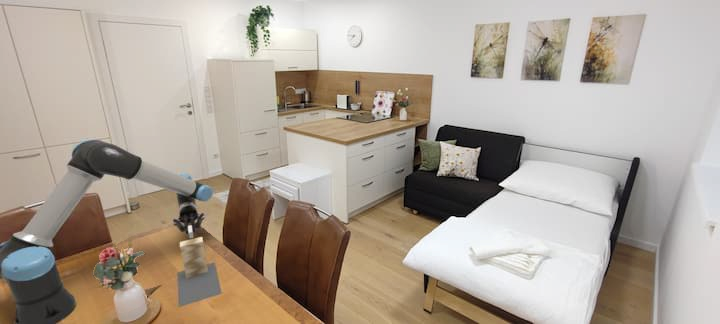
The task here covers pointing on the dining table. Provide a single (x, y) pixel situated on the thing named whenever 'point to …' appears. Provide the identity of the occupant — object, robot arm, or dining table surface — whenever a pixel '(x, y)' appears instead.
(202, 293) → the rubber mat
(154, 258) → the dining table surface
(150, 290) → the shard
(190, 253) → the beige tall block
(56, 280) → the robot arm
